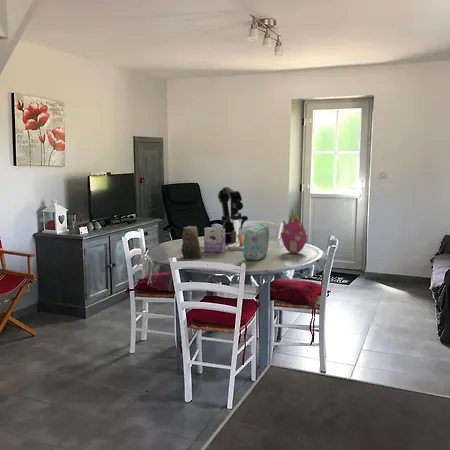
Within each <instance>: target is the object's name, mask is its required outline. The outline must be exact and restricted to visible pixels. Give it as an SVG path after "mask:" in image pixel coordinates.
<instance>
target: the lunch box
mask: <svg viewBox="0 0 450 450" xmlns="http://www.w3.org/2000/svg"><path fill="white" fill-rule="evenodd" d="M243 238H244V250H243V257H244V259H245V260H250V261H259V260H260V259H264V257H266V256H267V254H268V250H269V240H270V239H269V238H270V227H268V226H267V225H264V224H262V223H259V224H254V225H253V226H251V227H247V228H246V229H245V232H244V235H243Z"/></svg>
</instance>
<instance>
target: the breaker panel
mask: <svg viewBox="0 0 450 450" xmlns="http://www.w3.org/2000/svg"><path fill="white" fill-rule="evenodd" d="M227 250H232V251H244V245H243V244H240V242H238V243H237V242H236V243H234V244H232V245H231V244H230V245H228V246H227Z"/></svg>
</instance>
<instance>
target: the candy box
mask: <svg viewBox="0 0 450 450" xmlns="http://www.w3.org/2000/svg"><path fill="white" fill-rule="evenodd" d="M203 234H204V235H203V238H204V239H203V240H204V241H203V243H204V248H203V249H204V251H203V252H207V253H219V254H222V253H225V252H226V251H225V249H226V243H225V228H223V227H209V226H208V227H204V228H203Z"/></svg>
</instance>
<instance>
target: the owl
mask: <svg viewBox="0 0 450 450" xmlns="http://www.w3.org/2000/svg"><path fill="white" fill-rule="evenodd" d="M181 234H182V236H181V239H182V245H181V253H182V257H183V260H188V259H189V260H195V259H202V253H201V246H200V241H199V240H200V239H199V235H198V234H199V231H198V227H197V225H194V226H193V225H188V226H185V227H182V233H181Z"/></svg>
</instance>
